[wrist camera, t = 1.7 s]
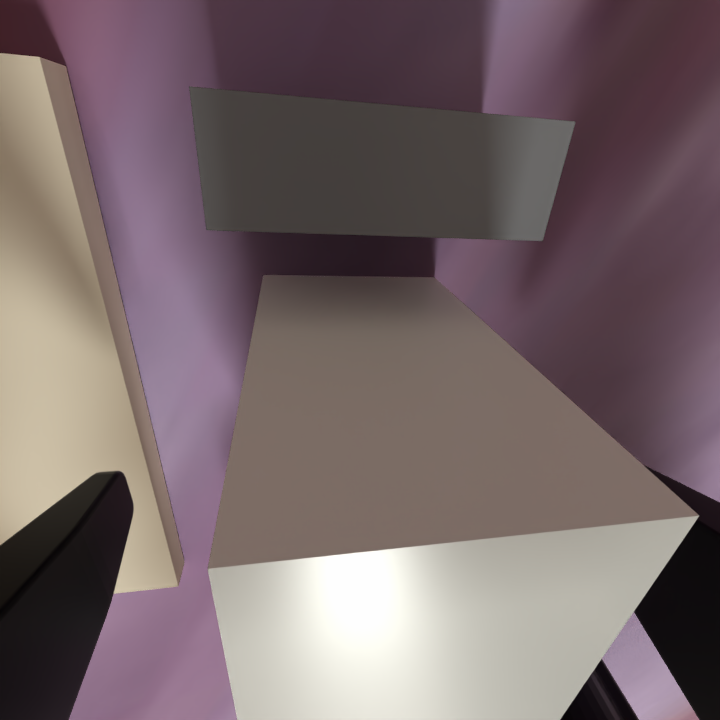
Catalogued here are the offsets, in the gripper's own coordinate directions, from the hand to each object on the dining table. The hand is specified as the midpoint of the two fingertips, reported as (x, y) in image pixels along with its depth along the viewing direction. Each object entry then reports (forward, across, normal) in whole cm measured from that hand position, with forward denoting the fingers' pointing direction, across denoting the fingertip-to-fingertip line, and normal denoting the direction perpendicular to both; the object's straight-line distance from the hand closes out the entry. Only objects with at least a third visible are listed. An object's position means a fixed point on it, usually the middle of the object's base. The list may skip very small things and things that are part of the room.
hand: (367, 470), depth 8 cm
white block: (+3, 0, 0) cm, 3 cm away
